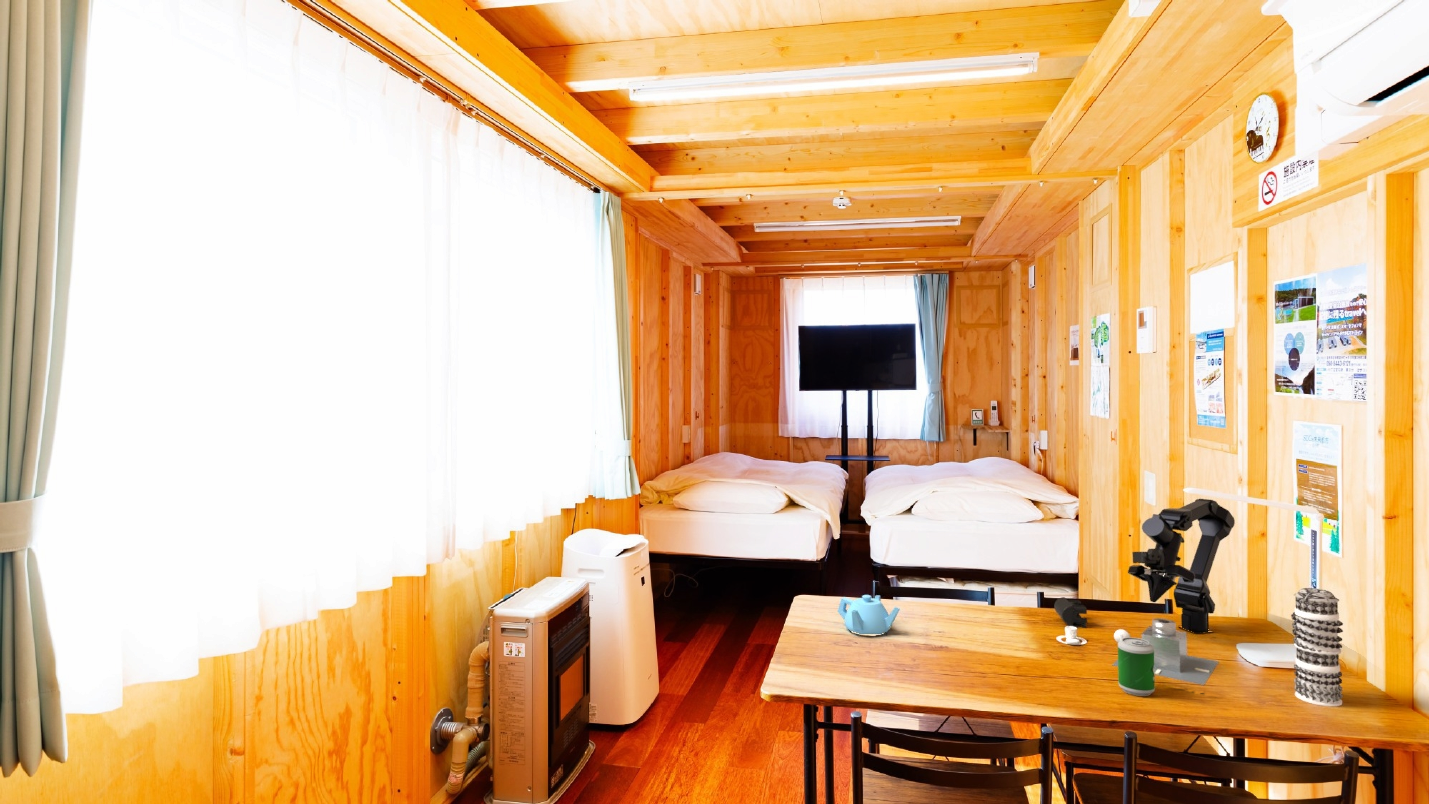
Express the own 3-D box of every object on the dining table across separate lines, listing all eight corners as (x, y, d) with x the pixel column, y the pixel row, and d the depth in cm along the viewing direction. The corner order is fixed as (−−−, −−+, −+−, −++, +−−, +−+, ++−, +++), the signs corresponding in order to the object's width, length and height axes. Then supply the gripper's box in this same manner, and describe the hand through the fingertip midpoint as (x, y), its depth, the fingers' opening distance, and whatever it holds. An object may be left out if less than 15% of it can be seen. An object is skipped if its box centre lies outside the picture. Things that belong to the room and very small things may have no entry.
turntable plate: (1132, 648, 201) (1131, 612, 201) (1218, 665, 187) (1218, 626, 187) (1112, 669, 187) (1111, 630, 187) (1203, 689, 173) (1203, 647, 173)
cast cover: (1150, 655, 193) (1149, 614, 193) (1187, 663, 187) (1186, 620, 187) (1142, 664, 187) (1141, 621, 186) (1180, 672, 181) (1179, 628, 181)
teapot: (881, 621, 231) (881, 587, 231) (901, 636, 216) (901, 600, 216) (836, 624, 228) (835, 591, 228) (853, 640, 214) (852, 604, 214)
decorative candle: (1296, 702, 165) (1293, 593, 164) (1289, 687, 172) (1287, 583, 172) (1348, 710, 160) (1346, 598, 160) (1339, 695, 168) (1337, 588, 168)
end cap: (1054, 617, 230) (1053, 596, 230) (1078, 618, 229) (1077, 597, 229) (1062, 627, 221) (1061, 605, 221) (1087, 628, 219) (1087, 606, 219)
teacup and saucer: (1079, 649, 203) (1078, 634, 203) (1050, 642, 209) (1050, 628, 209) (1091, 641, 209) (1091, 627, 208) (1063, 635, 215) (1063, 621, 214)
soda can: (1154, 700, 168) (1153, 648, 167) (1117, 693, 172) (1116, 643, 171) (1155, 688, 174) (1154, 639, 174) (1119, 682, 178) (1118, 634, 178)
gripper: (1119, 539, 215) (1105, 588, 211) (1167, 536, 197) (1152, 590, 193) (1151, 555, 216) (1137, 604, 212) (1202, 554, 198) (1188, 608, 194)
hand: (1152, 601), depth 202 cm, fingers closed
